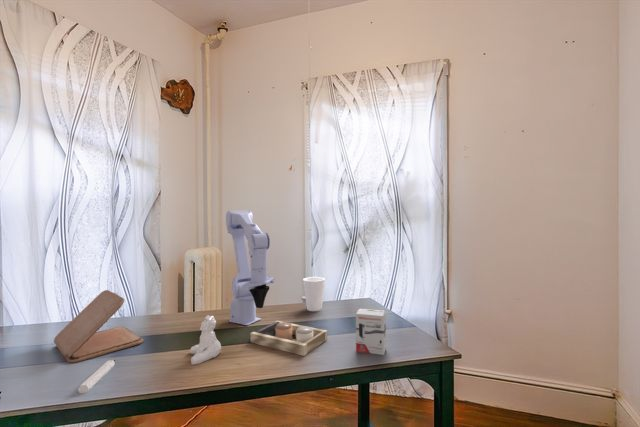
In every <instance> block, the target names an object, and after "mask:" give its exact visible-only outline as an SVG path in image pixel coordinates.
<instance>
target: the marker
mask: <svg viewBox="0 0 640 427" xmlns="http://www.w3.org/2000/svg"><path fill="white" fill-rule="evenodd" d="M115 364H116V359H113V360H112V359H111V360H109V359H108V360H107V361H106V362H105V363H103V364H102V365H101V366H100V367H99V368H98V369H97V370H96V371H95V372H93V373H92V374H91V375H90V376H89V377H88V378H87V379H86V380H85V381H83V382H82V383H81V384H80V385H79V387H78V389H77V392H78V393H79V394H85V393H88V392H90V390H91V389H93V387H94V386H96V384H97V383H98V382H100V381H101V379H103V378H104V376H106V375H107V373H109V372H110V371H111V370H112V369H113V368H114V367H115Z"/></svg>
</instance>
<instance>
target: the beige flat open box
mask: <svg viewBox="0 0 640 427" xmlns="http://www.w3.org/2000/svg"><path fill="white" fill-rule="evenodd" d="M277 321H278V322H280V323H283V322H284V321H282V320H276V321H274V322H277ZM290 323H291V325H292V335H295V336H296V330H297V328H299V327H303V326H304V325H302V324H296V323H292V322H290ZM310 327H311V326H310ZM311 328H312V330H313V338H311V339H310V340H308V341H306V342H305V343H301V342H297V341H296V340H288V339H283V338H279V337H276V335H275V336H274V335H273V336H270V335H266V334H262V333H257V331H251V332H250V344H251V343H252V344H255V345H256V344H257V345H260V346H262V347H263V346H264V347H268V348H271V349H276V350H278V351H279V350H280V351H283V352H287V353H291V354H296V355H300V356H306V355H308V354H309V353H310V352H312V351H313V350H314V349H316V348H317V347H319V346H320V345H322V344H323V343H324V342H326V341H328V333H329V332H328V330H326V329H321V328H315V327H311Z"/></svg>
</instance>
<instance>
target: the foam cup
mask: <svg viewBox="0 0 640 427" xmlns="http://www.w3.org/2000/svg"><path fill="white" fill-rule="evenodd" d="M302 281H303V282H302V284H303V289H304V296H305V302H306V310H307V311H309V312H320V311H322V309H323V301H324V292H325V285H326V279H325V277H321V276H309V277H305V278H302Z"/></svg>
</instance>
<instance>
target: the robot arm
mask: <svg viewBox="0 0 640 427" xmlns="http://www.w3.org/2000/svg"><path fill="white" fill-rule="evenodd" d="M253 220H254V215H253V212H252V211H251V209H249V210H227V211H226V214H225V223H226V224H225V225H226V231H227V233H228V234H230V235H231V236H232V242H233V246H234V247H233V248H234V254H235V256H234V257H235V261H236V268H237V274H236V275H235V276H234V277H233V278H232V280H231V294H232V297H233V298H232V300H231V302H230V319H229V320H228V322H230V323H234V324H238V325H244V326H250V325H252V324H254V323H256V322H258V321H260V320H262V318H261V317H257V309H262V308H264V306H265V305H264V304H265V301H266V297H267V295H268V291H269V290H270V286H269V285H270V284H275V277H273V276H268V250H269V249H270V246H271V238H270V235H269V233H268V232H263V231H262V230H261V229H260V227H259V226H258V225H257V223H255V222H253ZM246 240H247V243H246ZM248 254H249V256H250V261H249V256H248Z"/></svg>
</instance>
